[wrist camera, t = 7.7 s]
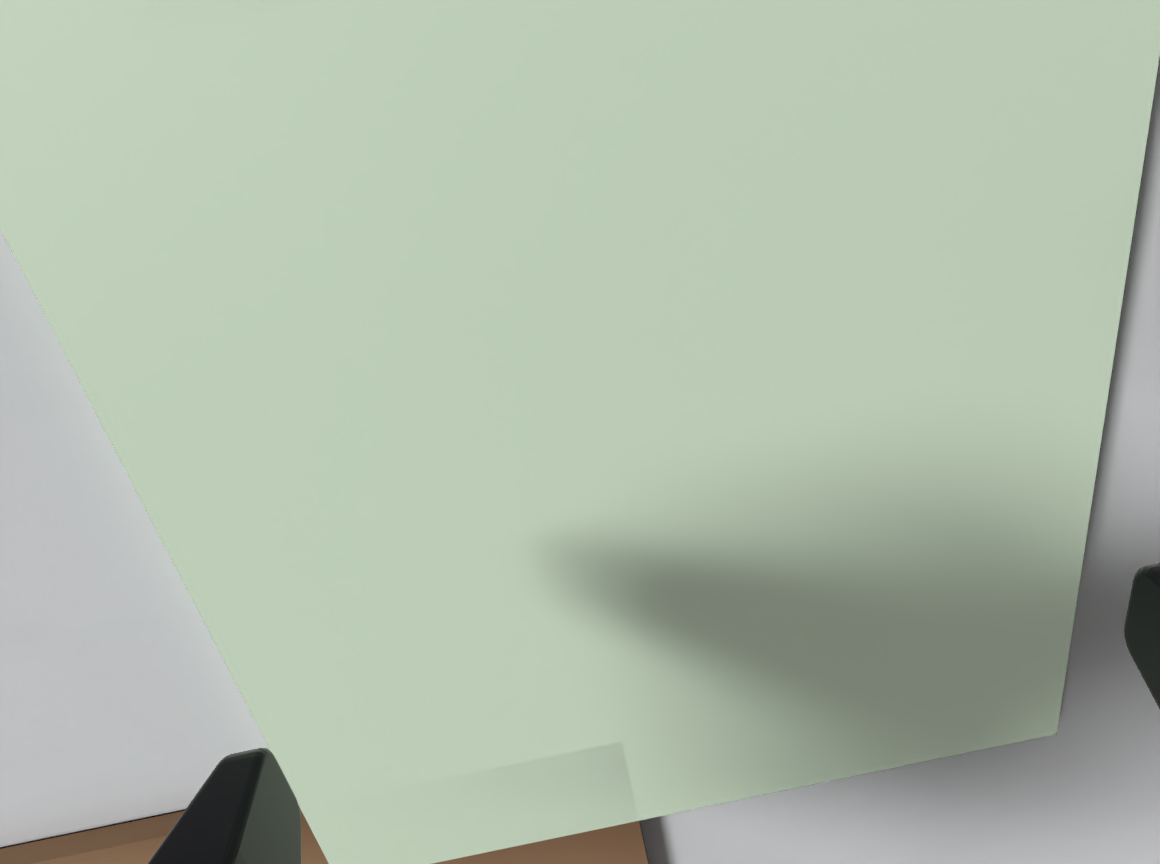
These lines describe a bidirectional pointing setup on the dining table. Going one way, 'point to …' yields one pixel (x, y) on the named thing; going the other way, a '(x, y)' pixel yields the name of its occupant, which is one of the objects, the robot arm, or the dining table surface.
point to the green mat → (594, 374)
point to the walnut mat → (121, 852)
